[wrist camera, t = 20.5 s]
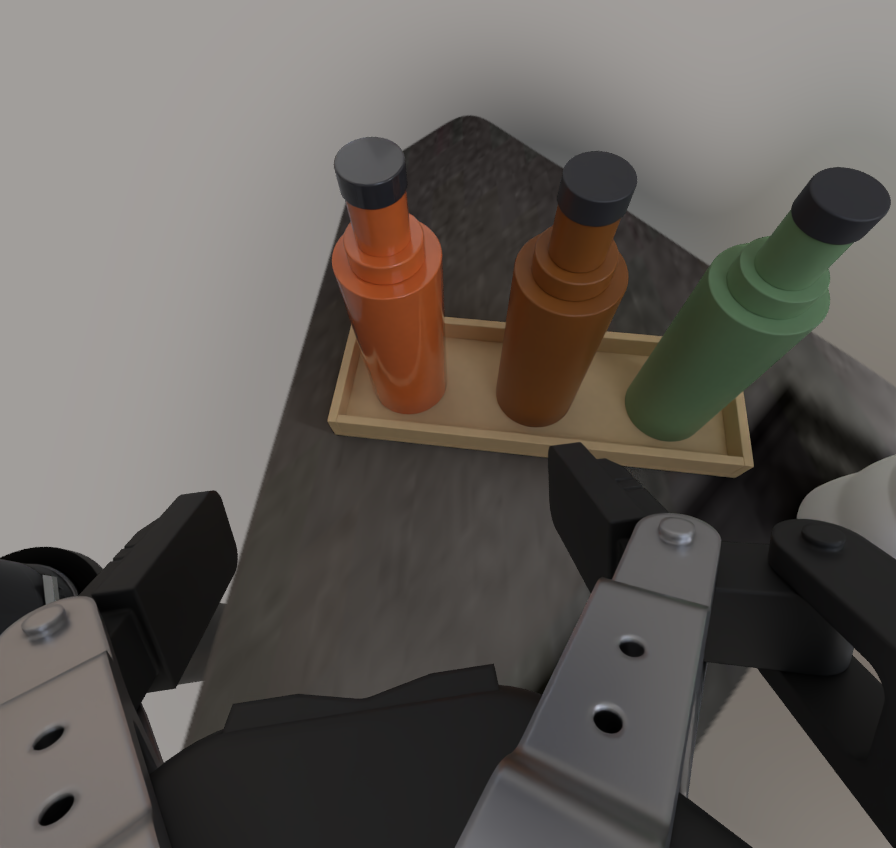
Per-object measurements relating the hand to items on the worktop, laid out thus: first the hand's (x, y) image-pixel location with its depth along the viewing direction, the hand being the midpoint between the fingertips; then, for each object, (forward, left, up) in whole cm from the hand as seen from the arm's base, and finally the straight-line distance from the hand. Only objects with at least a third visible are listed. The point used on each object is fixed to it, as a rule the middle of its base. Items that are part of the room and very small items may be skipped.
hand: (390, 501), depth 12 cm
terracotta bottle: (+5, +13, -19) cm, 24 cm away
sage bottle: (+20, +3, -19) cm, 28 cm away
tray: (+12, +8, -19) cm, 24 cm away
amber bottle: (+12, +8, -19) cm, 24 cm away
